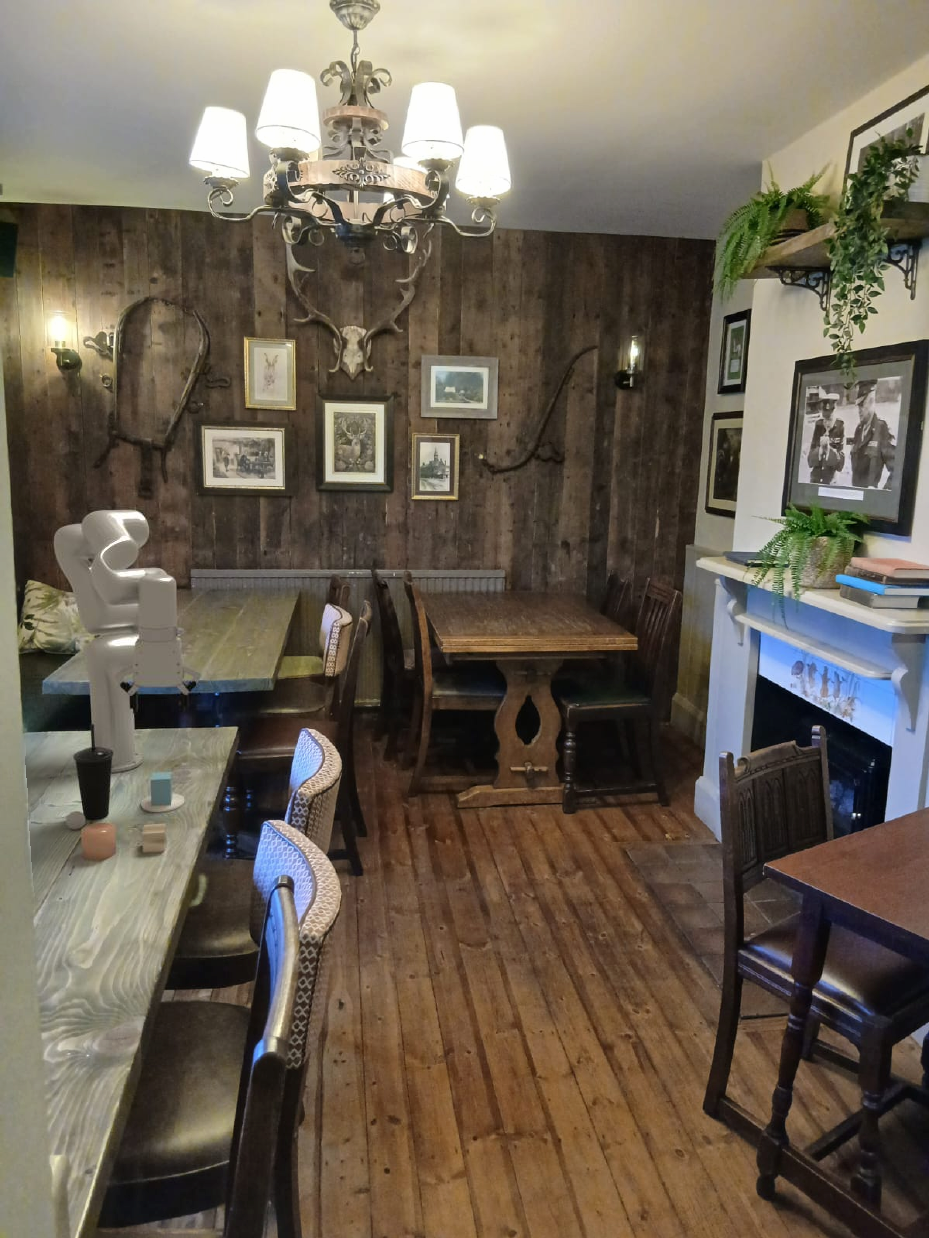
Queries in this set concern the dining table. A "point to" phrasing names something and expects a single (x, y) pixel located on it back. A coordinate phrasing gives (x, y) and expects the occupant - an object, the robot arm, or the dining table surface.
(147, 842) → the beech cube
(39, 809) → the dining table surface
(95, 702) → the robot arm
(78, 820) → the grey ball
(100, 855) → the peach cylinder
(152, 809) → the cream shiny round part
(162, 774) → the teal block
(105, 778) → the drinking cup
